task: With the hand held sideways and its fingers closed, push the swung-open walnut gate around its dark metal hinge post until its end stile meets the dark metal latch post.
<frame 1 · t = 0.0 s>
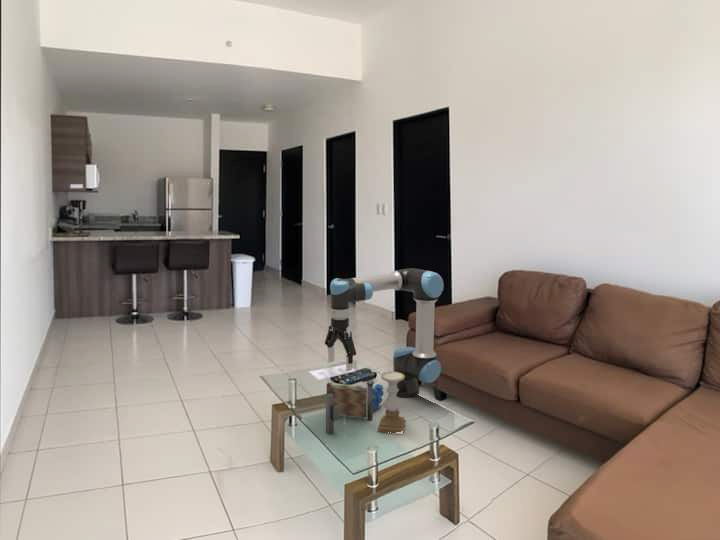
hand: (340, 365, 225), 28 cm above the table, tool pointing down, fingers open, 13 cm apart
hinge post: (369, 419, 237), on the table
grapes: (374, 409, 249), on the table
latch post: (329, 432, 225), on the table
candle holder: (392, 428, 230), on the table
gate: (346, 400, 238), point 8 cm above the table, hinge at -50.0°
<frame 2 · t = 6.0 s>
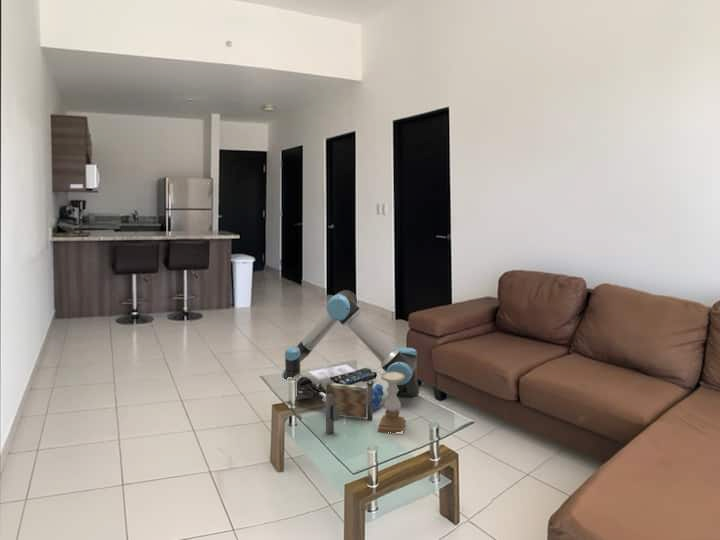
hand: (328, 399, 242), 7 cm above the table, tool horizontal, fingers closed
gate: (346, 400, 238), point 8 cm above the table, hinge at -49.2°, touching gripper
everything else where it was.
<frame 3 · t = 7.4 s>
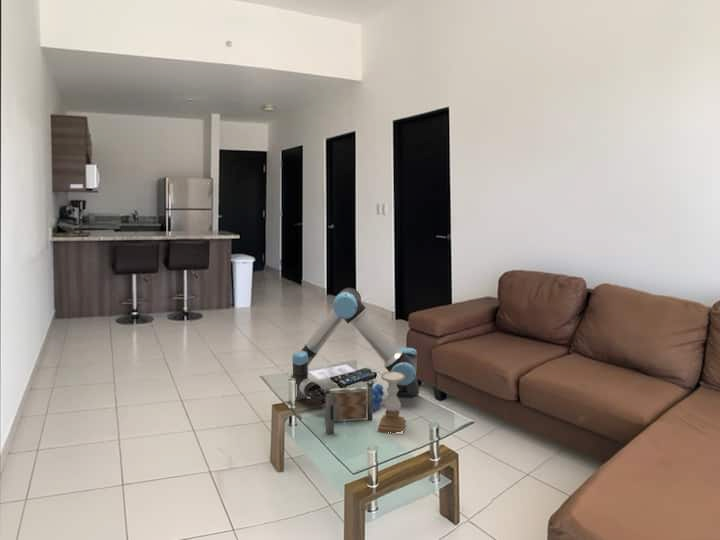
hand: (337, 405, 235), 7 cm above the table, tool horizontal, fingers closed
gate: (346, 404, 234), point 8 cm above the table, hinge at -27.9°, touching gripper
everything else where it was.
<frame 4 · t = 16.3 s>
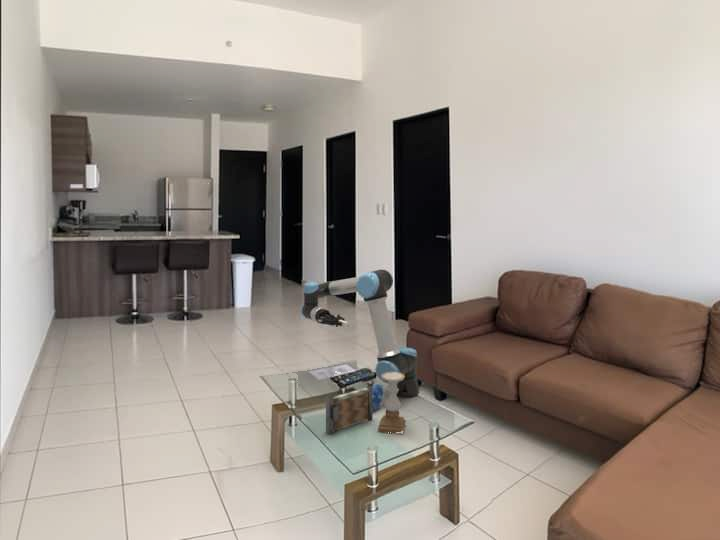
hand: (347, 325, 252), 38 cm above the table, tool horizontal, fingers closed
gate: (350, 408, 230), point 8 cm above the table, hinge at 0.2°
everything else where it was.
at the end: gate at +0° (first picture: -50°) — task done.
